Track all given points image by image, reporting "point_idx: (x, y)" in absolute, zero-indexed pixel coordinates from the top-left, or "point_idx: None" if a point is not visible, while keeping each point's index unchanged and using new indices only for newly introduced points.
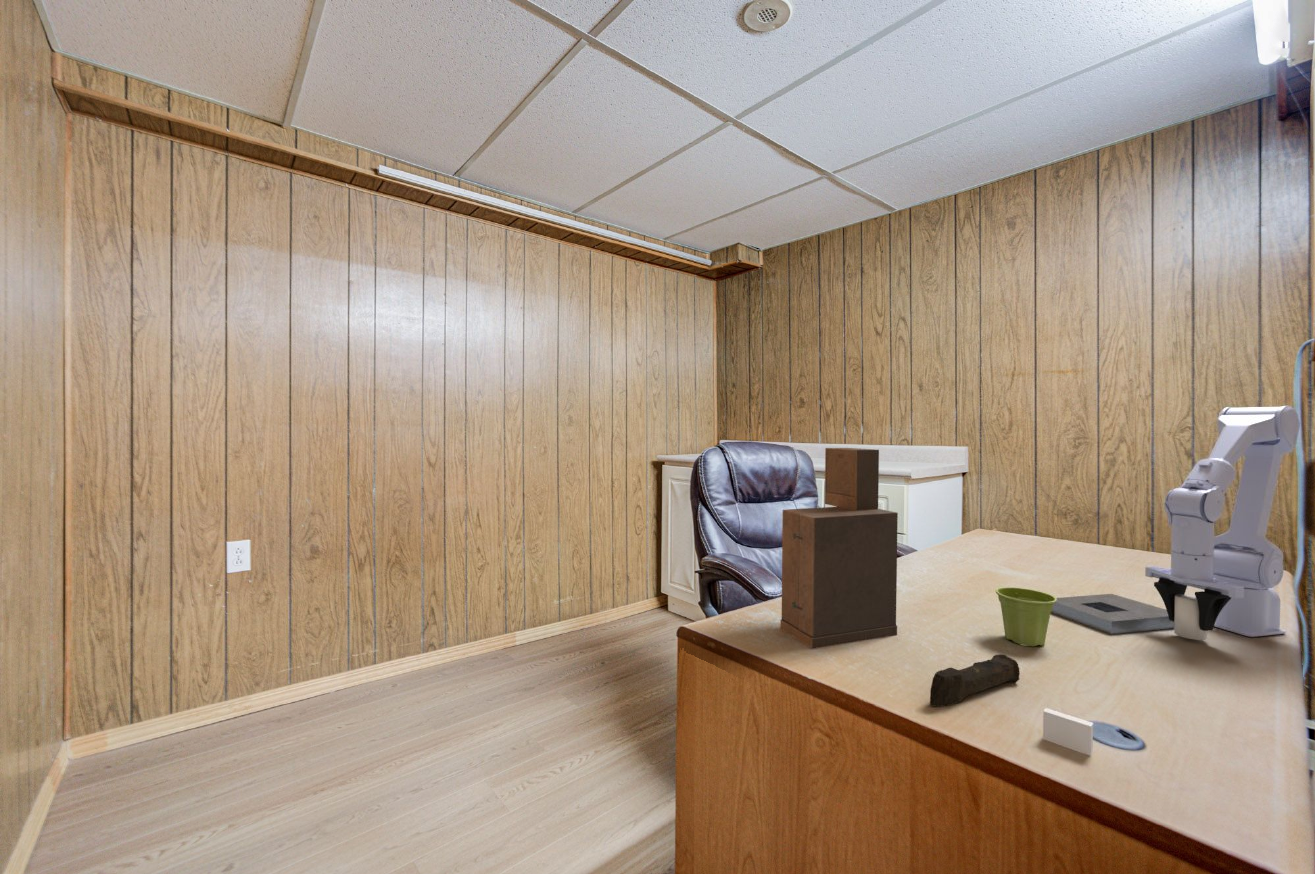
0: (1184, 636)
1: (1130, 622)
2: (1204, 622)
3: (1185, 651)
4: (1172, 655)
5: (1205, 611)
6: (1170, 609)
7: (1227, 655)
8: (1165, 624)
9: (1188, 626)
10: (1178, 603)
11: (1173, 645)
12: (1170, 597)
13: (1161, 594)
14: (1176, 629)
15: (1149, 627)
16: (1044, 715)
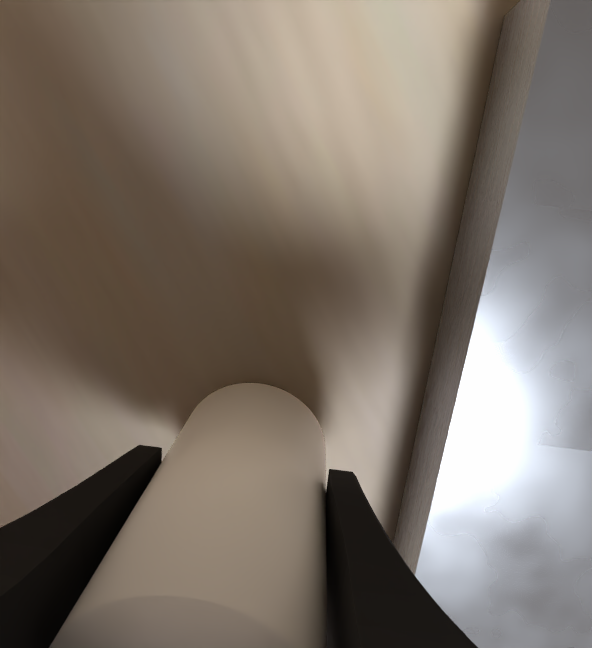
0: (243, 387)
1: (489, 218)
2: (97, 472)
3: (134, 190)
4: (99, 11)
5: (11, 528)
6: (342, 518)
7: (47, 354)
8: (409, 505)
9: (207, 425)
10: (243, 549)
11: (221, 235)
12: (352, 629)
13: (440, 628)
14: (289, 410)
15: (434, 385)
16: None
